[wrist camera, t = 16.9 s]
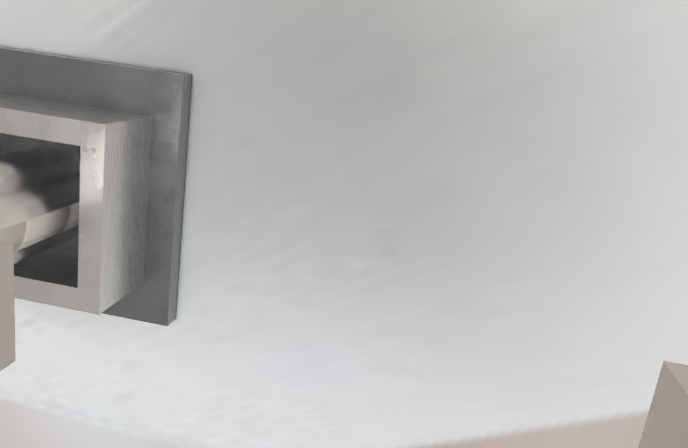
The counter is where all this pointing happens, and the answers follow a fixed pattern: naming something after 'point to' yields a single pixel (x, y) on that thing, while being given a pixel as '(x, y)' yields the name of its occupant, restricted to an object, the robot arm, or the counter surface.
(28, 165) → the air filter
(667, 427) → the robot arm
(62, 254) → the plate
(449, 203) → the counter surface
